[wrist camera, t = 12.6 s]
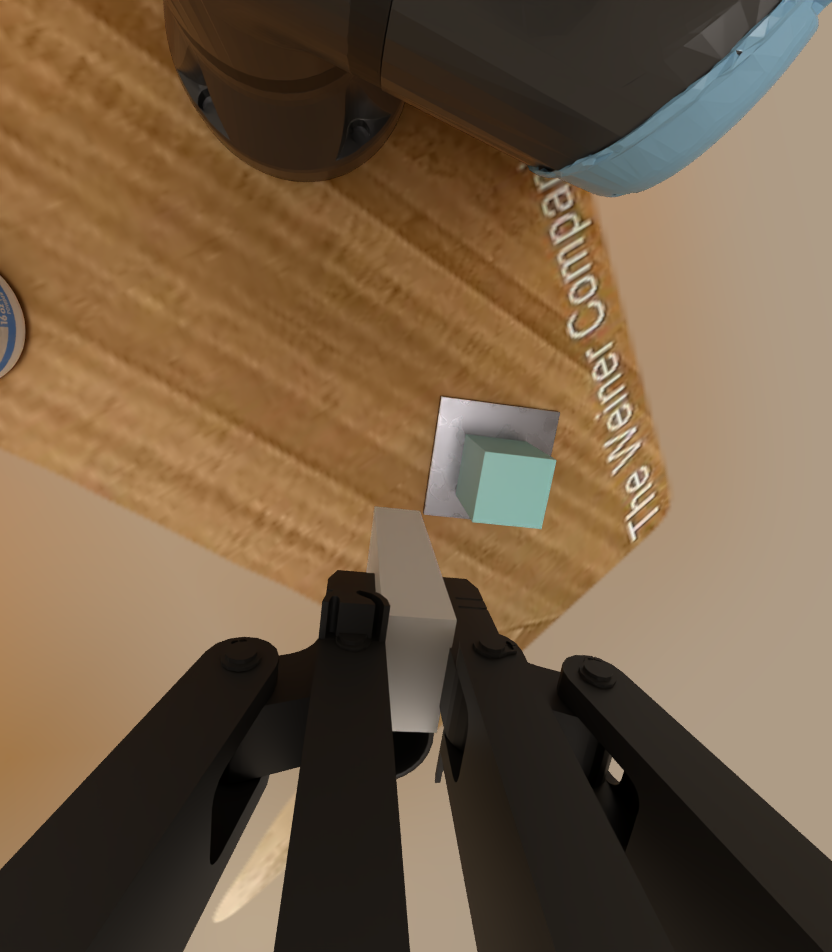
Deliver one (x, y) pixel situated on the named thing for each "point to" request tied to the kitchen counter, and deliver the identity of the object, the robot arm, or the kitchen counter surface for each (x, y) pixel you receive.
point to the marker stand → (479, 421)
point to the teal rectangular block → (504, 481)
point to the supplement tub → (10, 328)
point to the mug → (410, 750)
